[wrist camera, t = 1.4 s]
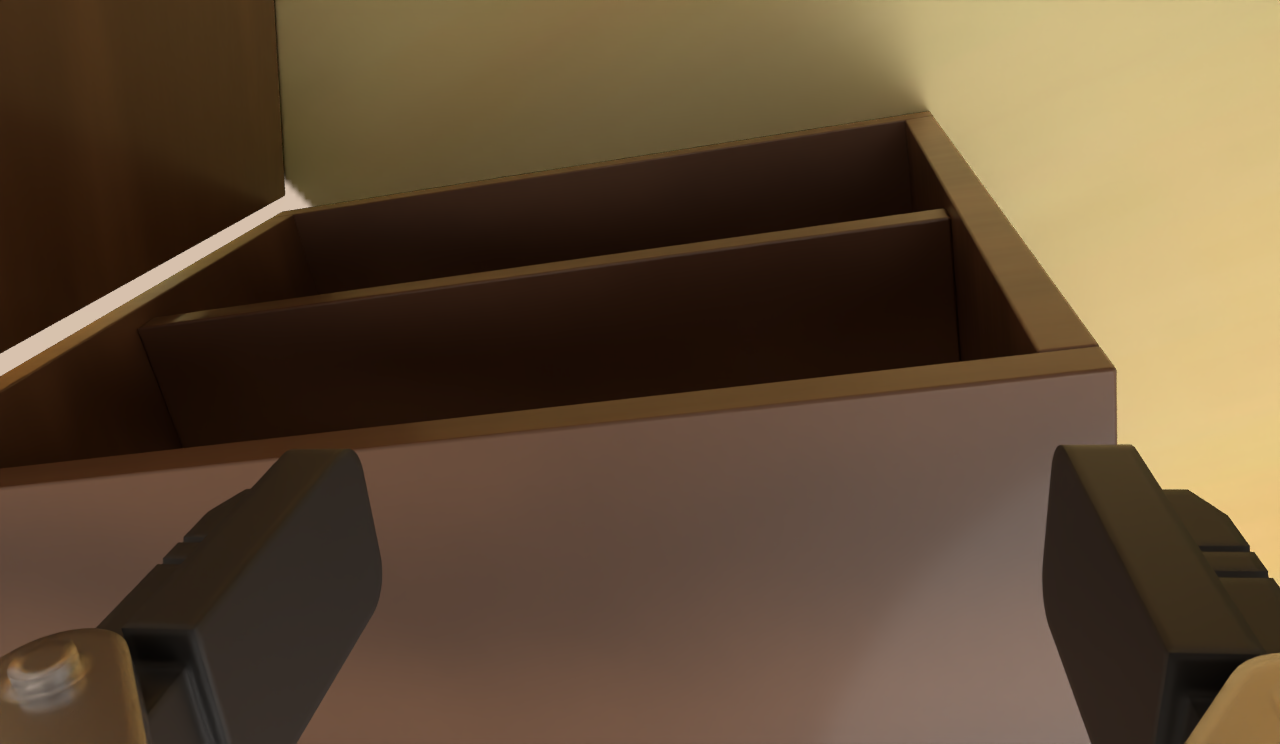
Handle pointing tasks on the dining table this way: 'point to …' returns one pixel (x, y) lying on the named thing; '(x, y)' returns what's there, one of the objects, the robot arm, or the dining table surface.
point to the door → (126, 142)
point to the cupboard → (611, 446)
